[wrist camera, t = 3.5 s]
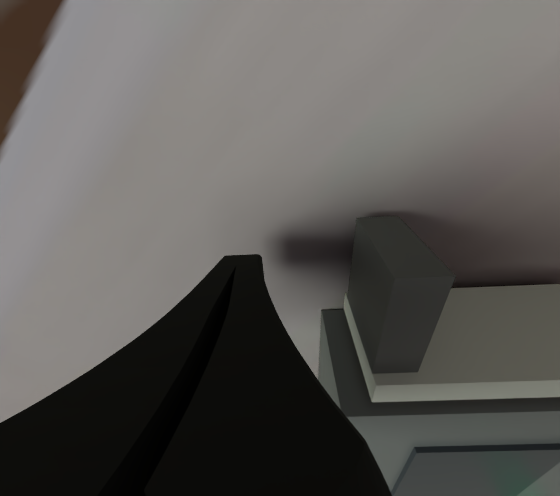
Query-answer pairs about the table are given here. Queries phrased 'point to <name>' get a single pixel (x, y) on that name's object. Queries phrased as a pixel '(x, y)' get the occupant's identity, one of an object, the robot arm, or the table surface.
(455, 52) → the table surface
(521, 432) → the camera body
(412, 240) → the side door
